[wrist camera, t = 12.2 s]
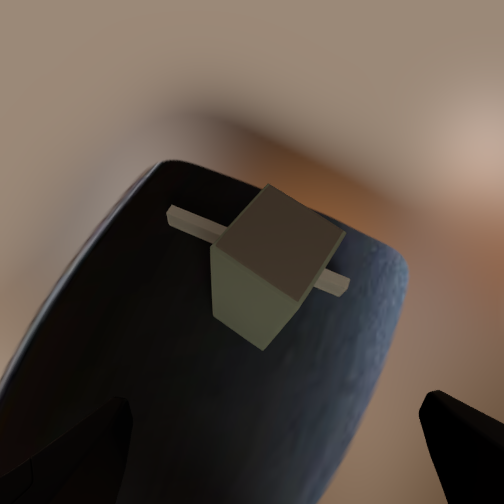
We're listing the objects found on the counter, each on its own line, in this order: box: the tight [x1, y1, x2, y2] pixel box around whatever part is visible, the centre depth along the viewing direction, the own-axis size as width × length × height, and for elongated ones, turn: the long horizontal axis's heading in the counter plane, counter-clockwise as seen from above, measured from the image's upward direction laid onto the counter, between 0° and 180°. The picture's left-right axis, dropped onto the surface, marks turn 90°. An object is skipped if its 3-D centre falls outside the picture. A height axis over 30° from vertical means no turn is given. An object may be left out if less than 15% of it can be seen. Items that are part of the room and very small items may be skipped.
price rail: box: [166, 205, 350, 297], centre depth 27 cm, size 17×2×2 cm, turn 67°
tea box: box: [210, 184, 346, 351], centre depth 21 cm, size 5×5×12 cm
